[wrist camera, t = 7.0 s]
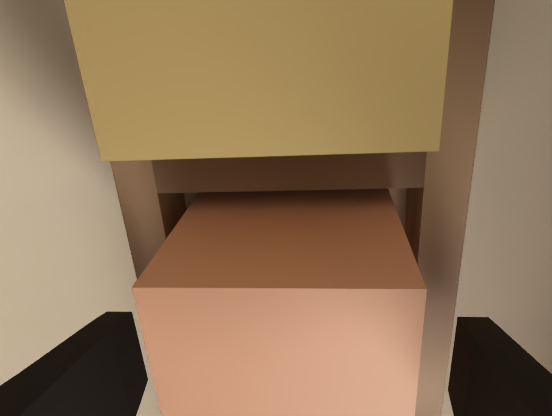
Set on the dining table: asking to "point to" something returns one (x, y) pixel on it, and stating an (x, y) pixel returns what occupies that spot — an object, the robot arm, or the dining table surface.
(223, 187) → the frame
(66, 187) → the dining table surface
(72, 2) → the ochre cube
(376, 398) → the terracotta cube
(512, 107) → the dining table surface
